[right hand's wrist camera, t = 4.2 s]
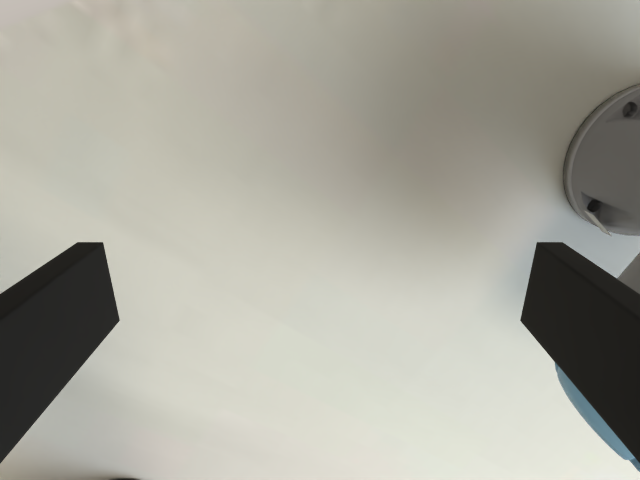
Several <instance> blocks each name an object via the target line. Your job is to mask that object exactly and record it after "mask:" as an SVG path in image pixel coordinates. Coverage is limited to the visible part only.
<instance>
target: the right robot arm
mask: <svg viewBox="0 0 640 480" xmlns="http://www.w3.org/2000/svg"><path fill="white" fill-rule="evenodd" d="M564 187H565V191H566V195H567V197H568V200H569V202H570V204H571V205H572V207H573V208H574V210H575V211H576V212H577V213H578V214H579V215H580V216H581V217H582V218H583V219H585V220H586V221H588V222H590V223H592V224H593V225H595V226H597V227H599V228H600V229H601V230H602V231H603V232H605V233H606V234H608V235H610V234H609V232H608V231H610V232H614V233H618V234H623V235H633V236H640V84H639V85H636V86H633V87H630V88H628V89H626V90H623V91H621V92H620V93H618V94H616V95H614V96H613V97H611V98H610V99H608V100H607V101H605V102H604V103H603V104H601V105H600V106H599V107H598V108H597V109H596V110H595V111H594V112H593V113H592V114H591V115H590V116H589V117H588V118H587V119H586V120H585V122H584V123H583V124H582V126H581V127H580V128H579V130H578V131H577V133H576V135H575V136H574V138H573V140H572V142H571V145H570V147H569V150H568V152H567V156H566V159H565V165H564ZM610 236H611V235H610ZM119 321H120V320H119V316H118V311H117V306H116V301H115V297H114V292H113V287H112V283H111V278H110V273H109V268H108V264H107V259H106V254H105V250H104V245H103V242H77V243H76V244H74V245H73V246H71V247H70V248H69V249H67V250H66V251H64V252H63V253H61V254H60V255H58V256H57V257H55V258H54V259H52V260H51V261H49V262H48V263H46V264H45V265H43V266H42V267H40V268H39V269H37V270H36V271H34V272H33V273H31V274H30V275H28V276H27V277H25V278H24V279H22V280H21V281H19V282H18V283H16V284H15V285H13V286H12V287H10V288H9V289H7V290H6V291H4V292H3V293H1V294H0V463H1V462H2V461H3V460H4V458H5V457H6V456H7V455H8V454H9V452H10V451H11V450H12V449H13V448H14V446H15V445H16V444H17V443H18V442H19V440H20V439H21V438H22V437H23V436H24V434H25V433H26V432H27V431H28V430H29V428H30V427H31V426H32V425H33V424H34V422H35V421H36V420H37V419H38V418H39V416H40V415H41V414H42V413H43V412H44V410H45V409H46V408H47V407H48V406H49V404H50V403H51V402H52V401H53V400H54V398H55V397H56V396H57V395H58V394H59V392H60V391H61V390H62V389H63V388H64V386H65V385H66V384H67V383H68V382H69V381H70V379H71V378H72V377H73V376H74V375H75V373H76V372H77V371H78V370H79V369H80V367H81V366H82V365H83V364H84V363H85V361H86V360H87V359H88V358H89V357H90V355H91V354H92V353H93V352H94V351H95V349H96V348H97V347H98V346H99V345H100V343H101V342H102V341H103V340H104V339H105V337H106V336H107V335H108V334H109V333H110V331H111V330H112V329H113V328H114V327H115V325H116V324H117V323H118V322H119ZM520 321H521V322H522V323H523V324H524V325H525V327H526V328H527V329H528V330H529V331H530V333H531V334H532V335H533V336H534V337H535V339H536V340H537V341H538V342H539V343H540V345H541V346H542V347H543V348H544V349H545V351H546V352H547V353H548V354H549V355H550V357H551V358H552V359H553V360H554V361H555V367H556V371H557V374H558V378H559V381H560V384H561V386H562V388H563V390H564V391H565V393H566V395H567V396H568V398H569V399H570V401H571V402H572V404H573V405H574V407H575V408H576V409H577V411H578V412H579V413H580V415H581V416H582V417H583V418H584V419H585V421H586V422H587V423H588V424H589V425H590V426H591V428H592V429H593V430H594V431H595V432H596V433H597V434H598V435H599V436H600V437H601V438H602V439H603V441H604V442H605V443H606V444H608V445H609V446H610V447H611V448H612V449H613V450H614V451H615V452H616V453H617V454H618V455H619V456H621V457H622V458H623V459H625V460H630V462H631V463H632V464H633V465H634V466H635V467H636V469H637V470H638V471H639V472H640V253H639V254H638V255H637V256H636V258H635V259H634V260H633V261H632V262H631V263H630V264H629V266H628V267H627V268H626V269H625V270H624V271H623V273H622V274H621V275H620V276H619V277H618V278H617V279H616V278H615V277H613V276H612V275H610V274H609V273H607V272H606V271H604V270H603V269H601V268H600V267H598V266H597V265H595V264H594V263H592V262H591V261H589V260H588V259H586V258H585V257H583V256H582V255H580V254H579V253H577V252H576V251H574V250H573V249H571V248H570V247H569V246H567V245H566V244H564V243H563V242H537V245H536V250H535V254H534V259H533V264H532V268H531V273H530V278H529V283H528V287H527V292H526V297H525V301H524V306H523V311H522V316H521V320H520Z"/></svg>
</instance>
